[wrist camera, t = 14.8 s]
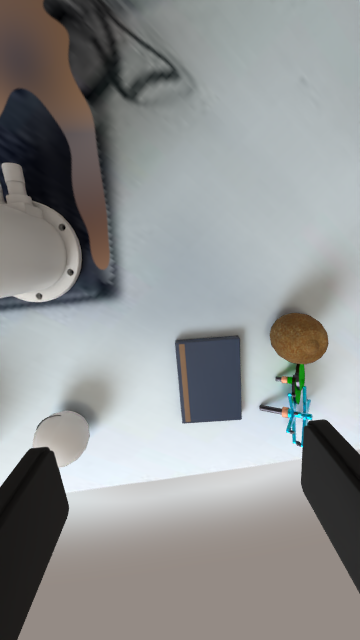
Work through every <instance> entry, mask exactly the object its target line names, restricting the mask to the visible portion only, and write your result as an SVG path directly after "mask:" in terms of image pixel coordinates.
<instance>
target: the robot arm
mask: <svg viewBox="0 0 360 640" xmlns="http://www.w3.org/2000/svg"><path fill="white" fill-rule="evenodd" d="M1 166H2V170H3V175H4V179H5V183H6V184H7V188H8V192H9V195H7V196H6V200H7V202H4V197H3V190H2V186H1V182H0V298H3V297H8V296H14V297H17V298H19V299H21V300H26V301H30V302H43V301H49V300H53V299H55V298H58V297H60V296H62V295H63V294H65V293H66V292H67V291H69V290H70V288H71V287H72V286H73V285H74V284H75V282H76V280H77V278H78V276H79V273H80V270H81V263H82V254H81V247H80V244H79V240H78V238H77V236H76V234H75V231H74V230H73V228H72V227H71V225H70V224H69V223H68V222H67V220H66V219H65V218H64V217H63V216H62V215H60V214H59V213H58V212H56V211H55V210H54V209H52V208H50V207H48V206H46V205H43V204H41V203H38V202H35V201H32V199H31V197H30V196H27V193H26V188H25V180H24V176H23V171H22V167H21V166H20V165H18V164H15V163H3V164H2V165H1ZM64 227H66V228H65V230H64ZM72 270H73V271H74V274H73V273H72ZM301 474H302V475H301V485H302V489H303V492H304V494H305V496H306V497H307V499H308V501H309V503H310V505H311V507H312V508H313V510H314V512H315V514H316V515H317V517H318V519H319V521H320V523H321V525H322V526H323V528H324V530H325V532H326V534H327V535H328V537H329V539H330V541H331V543H332V544H333V546H334V548H335V550H336V551H337V553H338V555H339V557H340V559H341V561H342V562H343V564H344V566H345V568H346V569H347V571H348V573H349V575H350V577H351V578H352V580H353V582H354V584H355V586H356V587H357V589H358V591H359V593H360V454H359V453H358V452H357V451H356V450H355V449H354V448H353V447H352V446H351V445H350V444H349V443H348V442H347V441H346V440H345V439H344V438H343V437H342V435H341V434H340V433H339V432H338V431H337V430H336V429H335V428H334V427H333V426H332V425H331V424H330V423H329V422H328V421H327V420H314V421H309V422H308V424H307V426H304V431H303V452H302V472H301ZM68 511H69V505H68V501H67V497H66V493H65V490H64V486H63V483H62V479H61V475H60V472H59V468H58V464H57V461H56V457H55V454H54V452H53V451H50V449H49V447H38V448H31V449H29V450H28V451H27V452H26V454H25V455H24V456H23V458H22V459H21V460H20V462H19V463H18V464H17V466H16V467H15V468H14V470H13V471H12V472H11V474H10V475H9V476H8V478H7V479H6V480H5V482H4V483H3V484H2V486H1V487H0V640H17V639H18V636H19V634H20V631H21V629H22V626H23V624H24V622H25V619H26V617H27V614H28V612H29V609H30V607H31V605H32V602H33V600H34V597H35V595H36V592H37V590H38V587H39V585H40V583H41V580H42V578H43V575H44V572H45V570H46V568H47V565H48V563H49V560H50V558H51V556H52V553H53V551H54V548H55V546H56V543H57V541H58V539H59V536H60V534H61V531H62V529H63V526H64V524H65V521H66V519H67V516H68Z"/></svg>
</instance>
